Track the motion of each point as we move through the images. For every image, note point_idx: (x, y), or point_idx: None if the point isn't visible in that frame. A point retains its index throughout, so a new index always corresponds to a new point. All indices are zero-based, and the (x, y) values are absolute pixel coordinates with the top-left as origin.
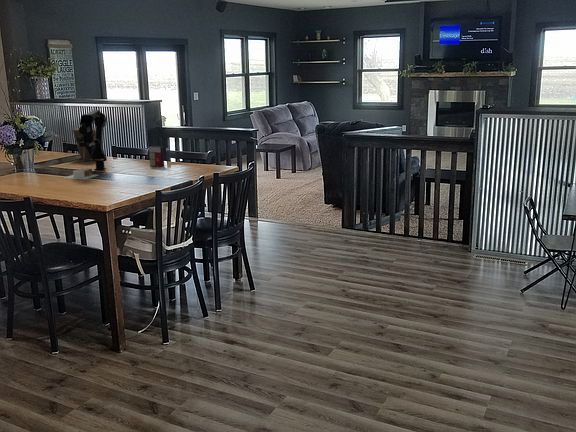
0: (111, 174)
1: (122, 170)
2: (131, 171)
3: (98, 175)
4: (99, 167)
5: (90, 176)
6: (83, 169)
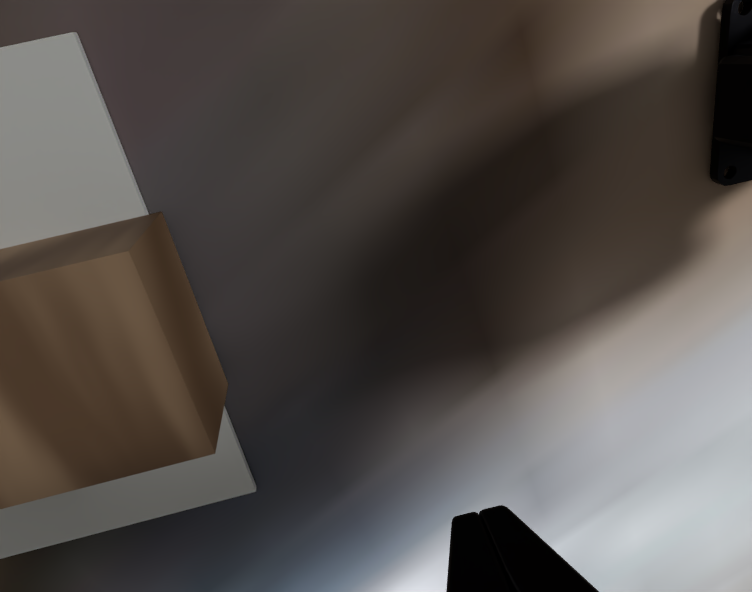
0: (388, 557)
1: (715, 461)
2: (654, 586)
3: (229, 494)
4: (742, 145)
5: None
6: (29, 384)
